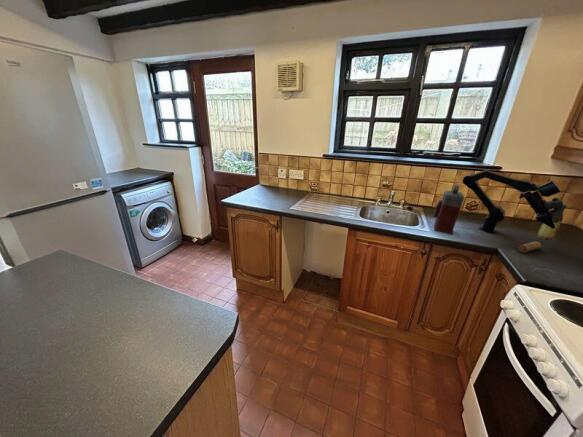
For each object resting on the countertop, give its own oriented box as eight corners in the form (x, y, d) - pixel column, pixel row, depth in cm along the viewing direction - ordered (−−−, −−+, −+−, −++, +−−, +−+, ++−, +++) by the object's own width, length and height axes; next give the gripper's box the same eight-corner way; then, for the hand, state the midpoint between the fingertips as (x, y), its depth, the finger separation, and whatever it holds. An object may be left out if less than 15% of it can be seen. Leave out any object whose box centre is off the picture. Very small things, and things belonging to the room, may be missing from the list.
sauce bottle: (553, 242, 128) (573, 207, 120) (537, 238, 131) (556, 204, 122) (549, 237, 133) (568, 203, 125) (534, 234, 136) (551, 201, 128)
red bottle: (429, 224, 153) (442, 181, 142) (450, 228, 149) (465, 184, 137) (430, 230, 146) (443, 185, 135) (451, 234, 141) (467, 188, 130)
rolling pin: (523, 254, 123) (526, 248, 122) (514, 250, 127) (517, 244, 125) (541, 249, 129) (545, 243, 127) (532, 246, 132) (535, 239, 130)
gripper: (556, 197, 118) (577, 225, 116) (555, 190, 130) (573, 215, 128) (527, 208, 126) (546, 234, 124) (529, 200, 139) (546, 223, 136)
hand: (554, 226), depth 128 cm, fingers closed on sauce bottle, 6 cm apart
